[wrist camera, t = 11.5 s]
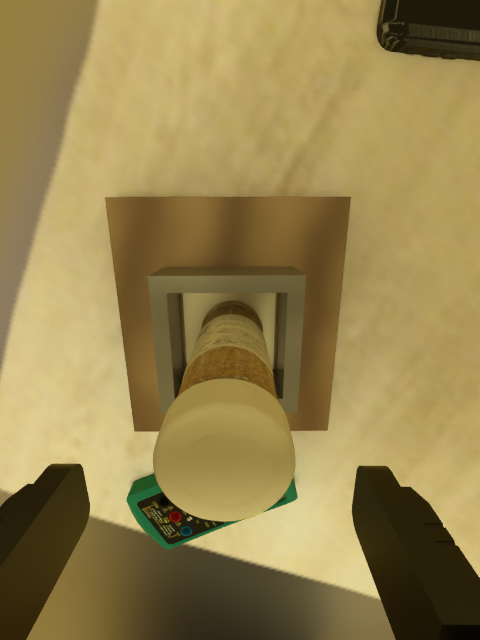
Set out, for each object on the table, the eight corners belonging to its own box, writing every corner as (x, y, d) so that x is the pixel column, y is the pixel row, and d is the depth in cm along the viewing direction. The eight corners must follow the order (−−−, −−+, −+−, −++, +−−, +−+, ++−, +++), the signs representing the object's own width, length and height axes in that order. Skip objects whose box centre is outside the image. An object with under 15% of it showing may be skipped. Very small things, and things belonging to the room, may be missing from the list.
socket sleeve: (293, 266, 21) (306, 275, 17) (287, 382, 24) (297, 412, 20) (164, 266, 21) (147, 275, 17) (173, 382, 24) (160, 412, 20)
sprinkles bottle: (234, 368, 23) (229, 549, 10) (188, 331, 22) (118, 477, 9) (276, 327, 22) (329, 469, 9) (230, 285, 21) (216, 378, 8)
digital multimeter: (127, 480, 29) (116, 507, 27) (264, 421, 27) (267, 443, 25) (166, 529, 31) (159, 559, 29) (296, 477, 29) (302, 504, 27)
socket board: (340, 199, 21) (351, 196, 19) (321, 415, 27) (328, 432, 25) (117, 200, 21) (103, 197, 19) (141, 416, 27) (133, 432, 25)
